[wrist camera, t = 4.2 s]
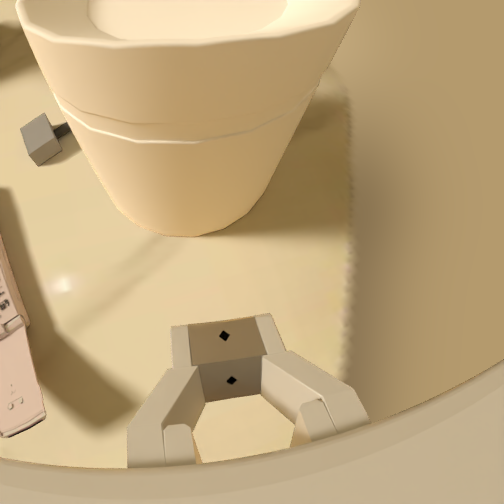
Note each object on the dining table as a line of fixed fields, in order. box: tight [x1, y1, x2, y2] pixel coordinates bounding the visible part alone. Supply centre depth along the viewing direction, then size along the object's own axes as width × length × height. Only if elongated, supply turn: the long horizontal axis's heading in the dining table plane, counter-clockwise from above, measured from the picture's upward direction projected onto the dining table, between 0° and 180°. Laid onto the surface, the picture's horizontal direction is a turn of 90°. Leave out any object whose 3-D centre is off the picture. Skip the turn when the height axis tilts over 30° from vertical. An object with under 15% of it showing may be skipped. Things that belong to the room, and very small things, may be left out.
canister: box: [15, 0, 361, 237], centre depth 19 cm, size 16×16×20 cm
